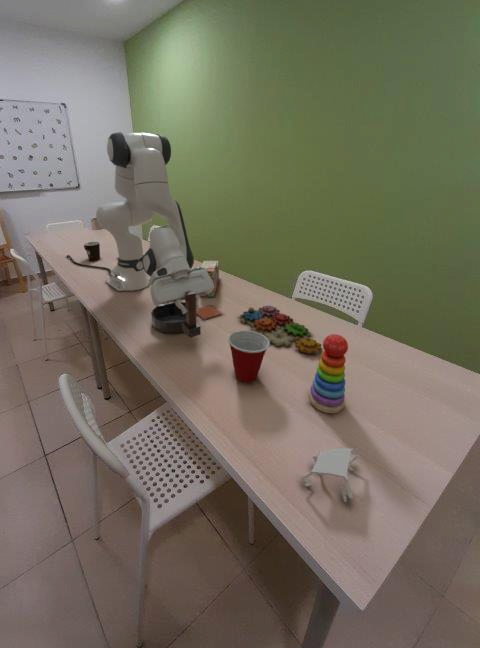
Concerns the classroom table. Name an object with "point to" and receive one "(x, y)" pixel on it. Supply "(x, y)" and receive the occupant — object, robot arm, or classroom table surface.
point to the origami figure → (334, 466)
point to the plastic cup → (247, 353)
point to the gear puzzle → (280, 328)
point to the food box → (212, 274)
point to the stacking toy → (330, 376)
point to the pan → (168, 318)
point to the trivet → (208, 312)
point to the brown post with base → (191, 316)
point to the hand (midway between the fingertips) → (191, 311)
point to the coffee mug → (93, 250)
